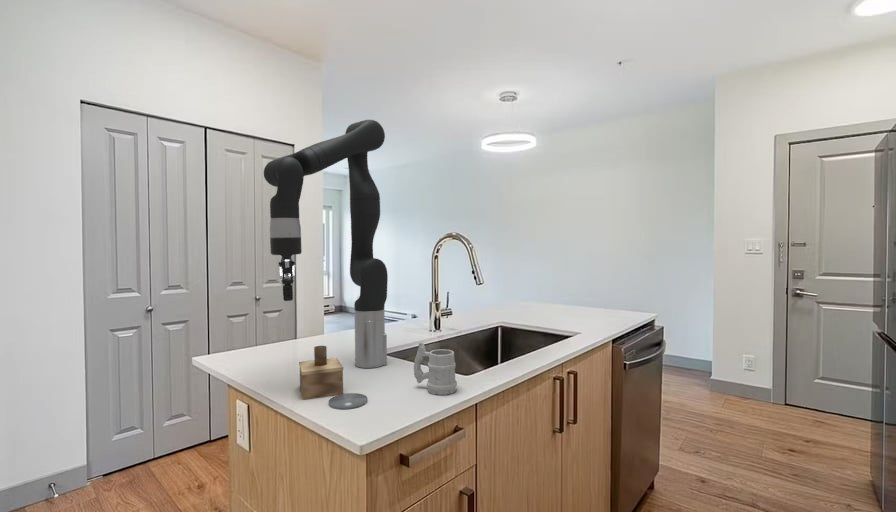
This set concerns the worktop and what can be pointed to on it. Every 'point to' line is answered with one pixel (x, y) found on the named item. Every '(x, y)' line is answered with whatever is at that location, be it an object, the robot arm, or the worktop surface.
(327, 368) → the lid
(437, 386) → the mug
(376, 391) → the worktop surface
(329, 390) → the tea box
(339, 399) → the coaster
